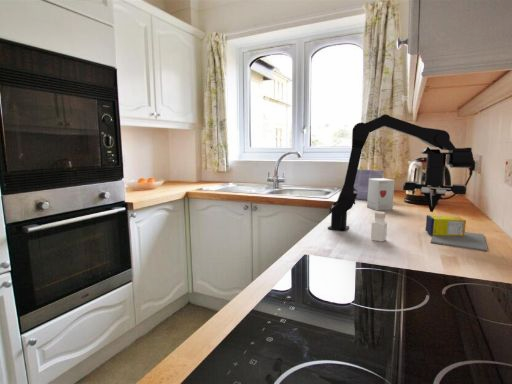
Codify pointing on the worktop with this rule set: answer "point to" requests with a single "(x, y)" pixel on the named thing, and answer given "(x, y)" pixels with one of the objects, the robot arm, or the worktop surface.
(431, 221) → the supplement box
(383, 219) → the pepper shaker
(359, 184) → the cake pan box
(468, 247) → the rubber mat
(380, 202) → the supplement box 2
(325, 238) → the worktop surface
